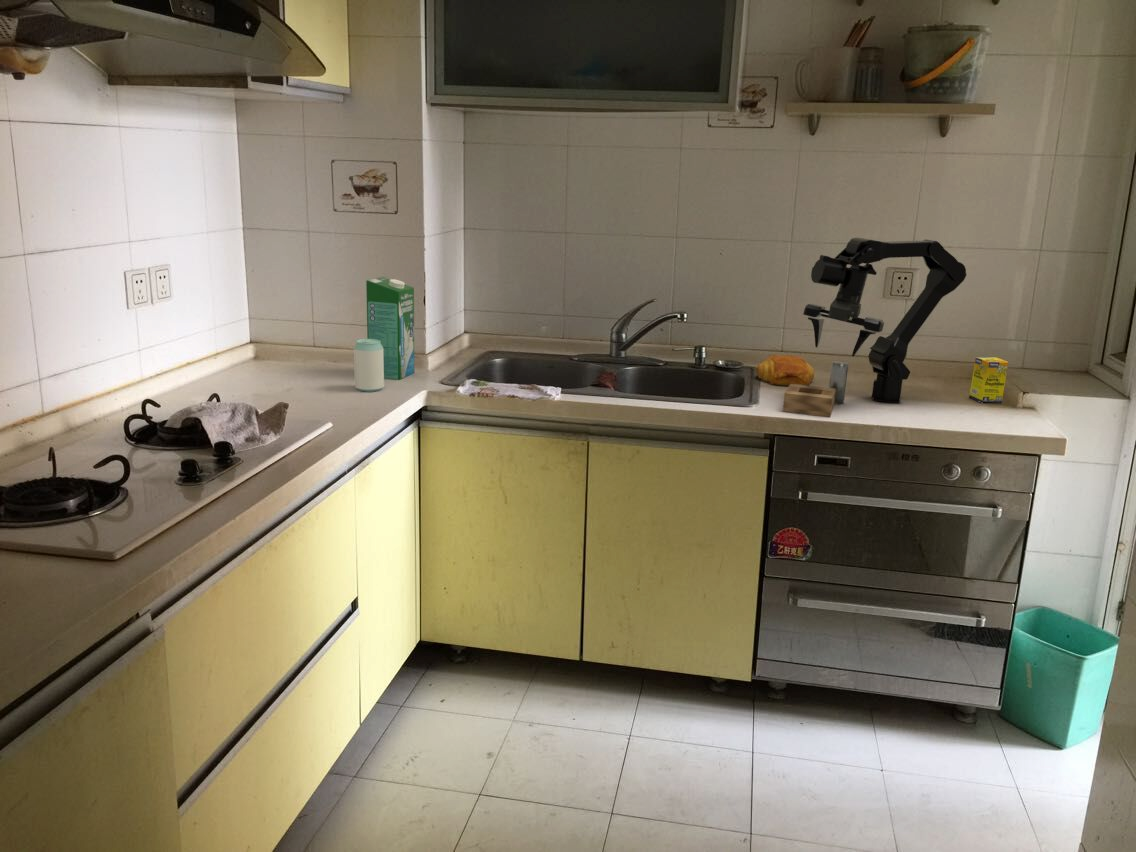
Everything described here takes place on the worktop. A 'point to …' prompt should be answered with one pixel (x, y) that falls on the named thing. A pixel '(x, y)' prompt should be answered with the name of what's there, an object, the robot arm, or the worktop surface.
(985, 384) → the supplement box
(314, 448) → the worktop surface
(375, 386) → the can
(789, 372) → the croissant
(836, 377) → the pin
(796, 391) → the bore block
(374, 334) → the milk carton
